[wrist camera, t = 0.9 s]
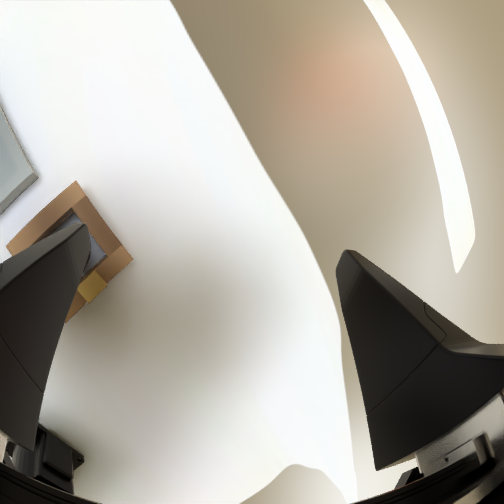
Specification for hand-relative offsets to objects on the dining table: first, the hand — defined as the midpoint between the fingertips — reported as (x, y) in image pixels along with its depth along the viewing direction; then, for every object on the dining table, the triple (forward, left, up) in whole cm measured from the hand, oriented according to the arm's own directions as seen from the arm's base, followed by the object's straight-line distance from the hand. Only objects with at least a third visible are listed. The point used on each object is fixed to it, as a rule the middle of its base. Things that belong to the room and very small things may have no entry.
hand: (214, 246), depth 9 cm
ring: (-5, +3, -13) cm, 14 cm away
